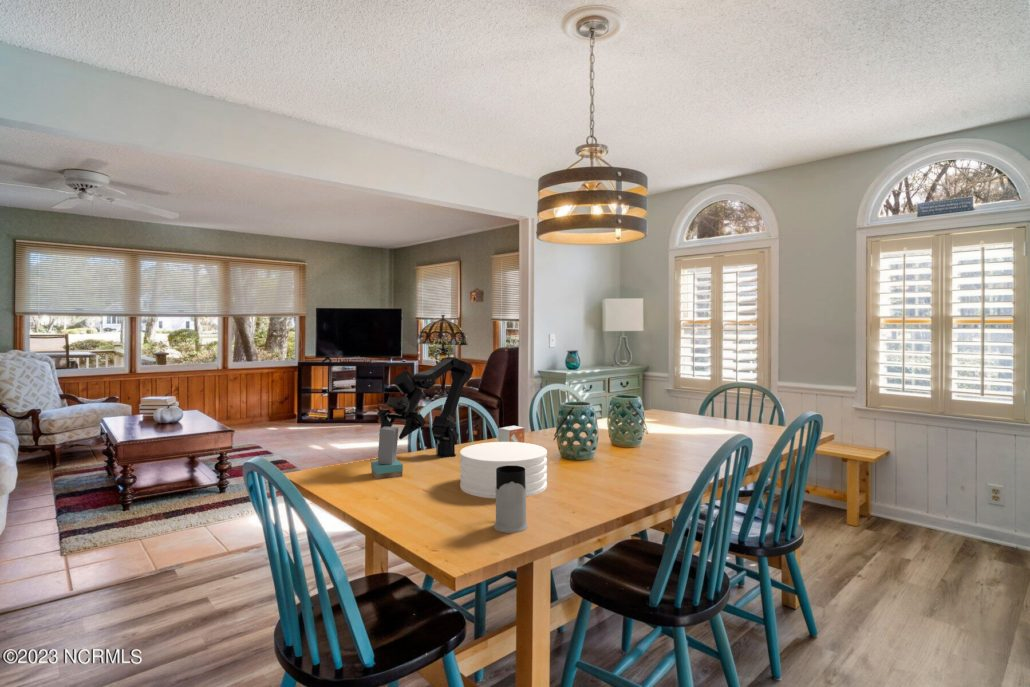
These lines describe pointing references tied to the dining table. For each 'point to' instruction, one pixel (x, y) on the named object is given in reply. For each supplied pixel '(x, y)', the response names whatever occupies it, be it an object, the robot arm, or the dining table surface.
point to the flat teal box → (386, 475)
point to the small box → (511, 434)
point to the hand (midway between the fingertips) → (389, 437)
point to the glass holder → (510, 499)
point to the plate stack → (489, 456)
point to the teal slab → (386, 467)
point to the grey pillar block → (387, 445)
